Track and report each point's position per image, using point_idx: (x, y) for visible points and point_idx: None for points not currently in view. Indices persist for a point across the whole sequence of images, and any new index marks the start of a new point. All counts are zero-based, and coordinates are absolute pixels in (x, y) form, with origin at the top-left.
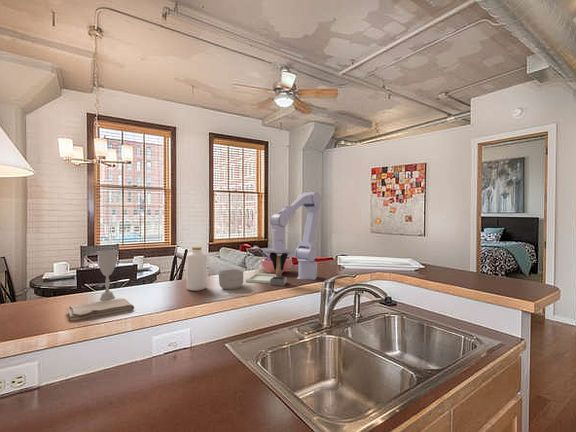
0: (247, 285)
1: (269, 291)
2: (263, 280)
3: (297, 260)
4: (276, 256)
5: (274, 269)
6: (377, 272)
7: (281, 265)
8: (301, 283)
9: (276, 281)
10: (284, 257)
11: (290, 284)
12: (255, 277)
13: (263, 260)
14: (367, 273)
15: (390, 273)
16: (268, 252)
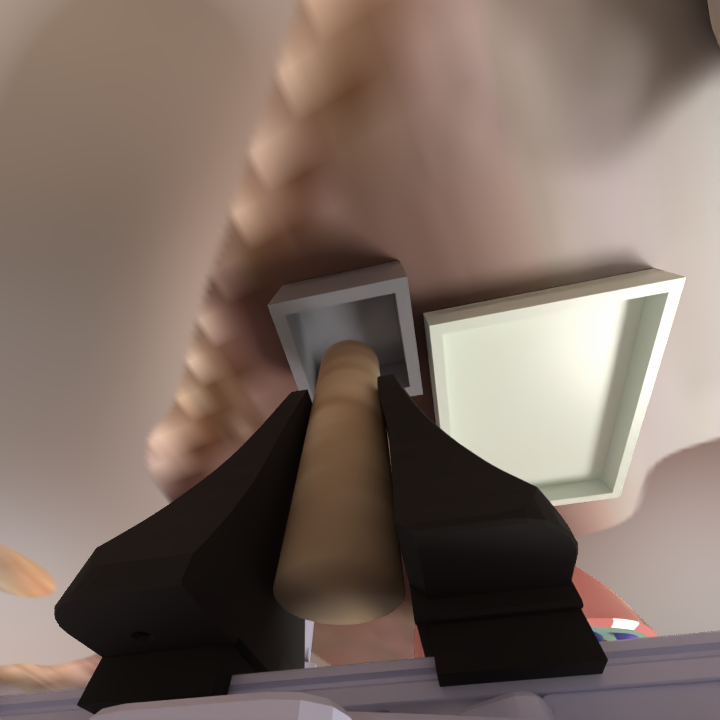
0: (620, 198)
1: (315, 38)
2: (494, 312)
3: (314, 663)
4: (376, 563)
5: (392, 374)
6: (83, 674)
7: (282, 420)
8: (233, 430)
9: (342, 284)
10: (130, 536)
11: (283, 380)
12: (598, 436)
13: (627, 627)
14: (101, 658)
15: (32, 675)
16: (681, 680)
